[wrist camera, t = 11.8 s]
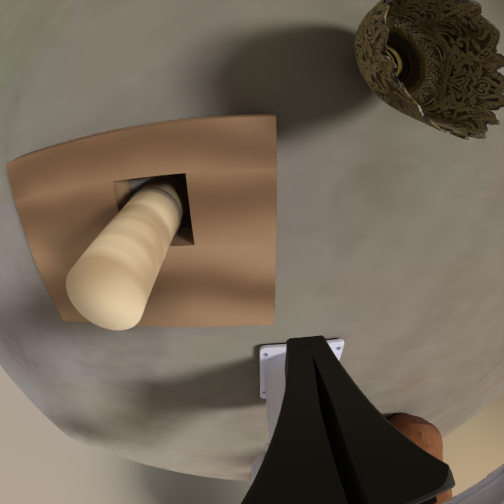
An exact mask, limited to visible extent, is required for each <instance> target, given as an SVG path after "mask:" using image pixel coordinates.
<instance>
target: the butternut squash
mask: <svg viewBox="0 0 504 504" xmlns="http://www.w3.org/2000/svg"><path fill="white" fill-rule="evenodd" d="M388 421H389V422H390V423H391V424H392V425H393V426H394V427H396V428H397V429H398V430H399V431H400V432H402V433H403V434H404V435H405V436H406V437H408V438H409V439H410V440H411V441H413V442H414V443H415V444H416V445H418V446H419V447H421V448H422V449H423V450H425V451H426V452H428V453H429V454H431V455H433V456H434V457H436V458H437V459H439V460H441V461H443V456H442V450H443V446H442V438H441V434H440V432H439V431H438V429H437V428H436V427H435V426H434V425H433V424H431V423H429V422H428V421H426V420H424V419H423V418H421V417H418V416H413V415H408V414H404V413H403V414H397V415H394V416H392V417H391V418H390V419H389V420H388ZM436 498H437V502H436V503H434V504H441V503H443V502H445V501H447V500H449V499H451V498H452V490H451V489H449V490H447V491H445V492H443V493H441V494H439V495H437V496H436Z"/></svg>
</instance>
